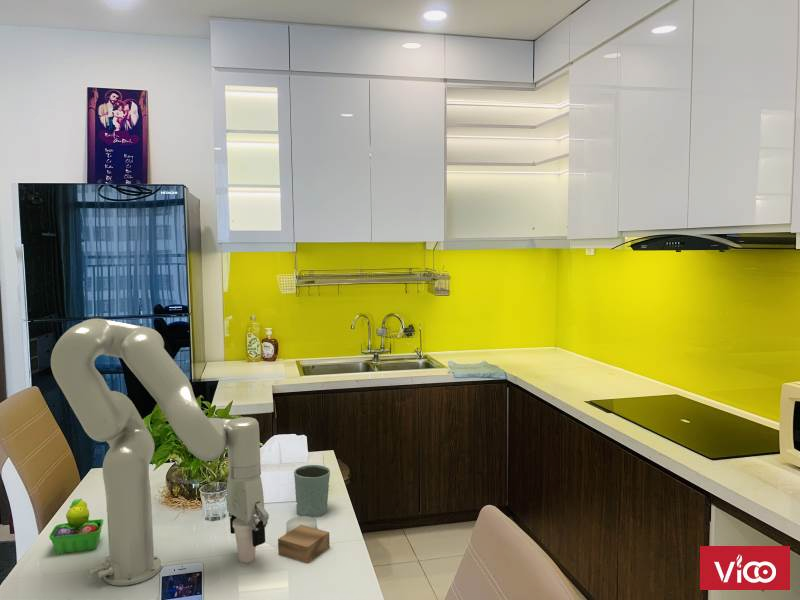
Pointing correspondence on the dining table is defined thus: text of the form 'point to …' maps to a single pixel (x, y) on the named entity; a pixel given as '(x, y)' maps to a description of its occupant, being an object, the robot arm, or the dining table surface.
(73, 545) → the fruit basket
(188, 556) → the dining table surface
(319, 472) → the grey-green hollow tall cylinder
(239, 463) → the robot arm
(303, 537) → the walnut base
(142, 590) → the dining table surface
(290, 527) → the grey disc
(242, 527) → the smoothie
